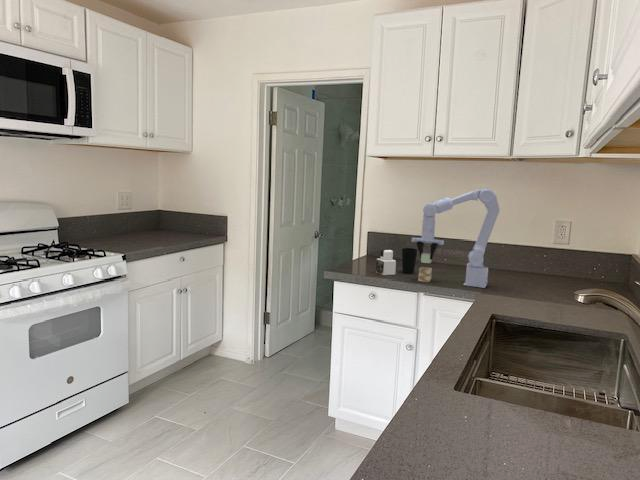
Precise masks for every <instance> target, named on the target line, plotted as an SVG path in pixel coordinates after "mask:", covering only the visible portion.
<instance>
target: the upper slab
mask: <svg viewBox="0 0 640 480" xmlns="http://www.w3.org/2000/svg"><path fill="white" fill-rule="evenodd" d="M432 270H433V268H432V267H427V266H426V267H425V266H424V267H423V266H421V267H419V269H418V276H419V275H422V276H430V275H431V276H433V275H432V273H433V271H432Z"/></svg>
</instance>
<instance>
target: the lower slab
mask: <svg viewBox="0 0 640 480" xmlns="http://www.w3.org/2000/svg"><path fill="white" fill-rule="evenodd" d="M417 277H418V278H417V279H418V282H425V283H430V282H431V281H432V275H430V276H422V275H419V274H418V276H417Z"/></svg>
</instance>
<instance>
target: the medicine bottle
mask: <svg viewBox="0 0 640 480" xmlns="http://www.w3.org/2000/svg"><path fill="white" fill-rule="evenodd" d="M393 256H394V251H393V250H392V249H387V248H384V249H380V255H379V257H380V258H376V264H375V265H376V266H375V267H376V268H375V273H376V274H379V275H381V276H390V275H391V276H394V275H396V269H397V268H396V267H397V261H396V260H395V259H393Z"/></svg>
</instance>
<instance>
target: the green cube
mask: <svg viewBox="0 0 640 480" xmlns="http://www.w3.org/2000/svg"><path fill="white" fill-rule="evenodd" d="M430 254H431V252H430V253H429V252H423V253H422V254H421V258H420V263H424V264H431V263H432V260H433V259H432V260H431V259H430Z"/></svg>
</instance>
